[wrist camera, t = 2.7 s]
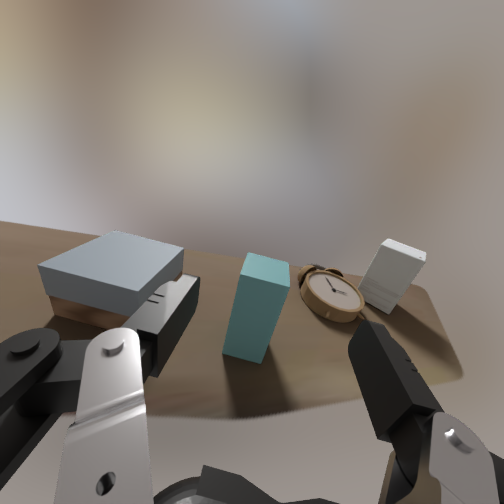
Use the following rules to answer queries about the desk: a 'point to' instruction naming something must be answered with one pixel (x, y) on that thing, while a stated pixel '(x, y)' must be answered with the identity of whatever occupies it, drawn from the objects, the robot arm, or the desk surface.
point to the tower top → (112, 271)
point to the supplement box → (390, 274)
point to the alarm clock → (330, 293)
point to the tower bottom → (90, 313)
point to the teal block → (256, 307)
